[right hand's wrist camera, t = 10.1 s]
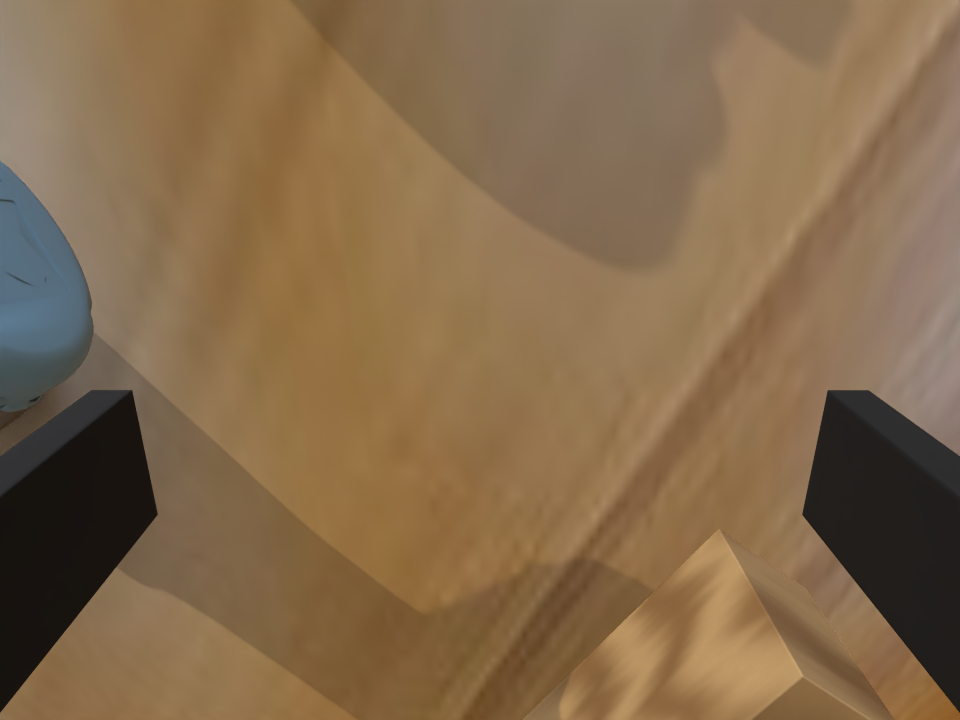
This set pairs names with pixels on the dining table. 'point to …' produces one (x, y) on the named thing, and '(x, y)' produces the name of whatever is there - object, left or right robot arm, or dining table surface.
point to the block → (719, 652)
